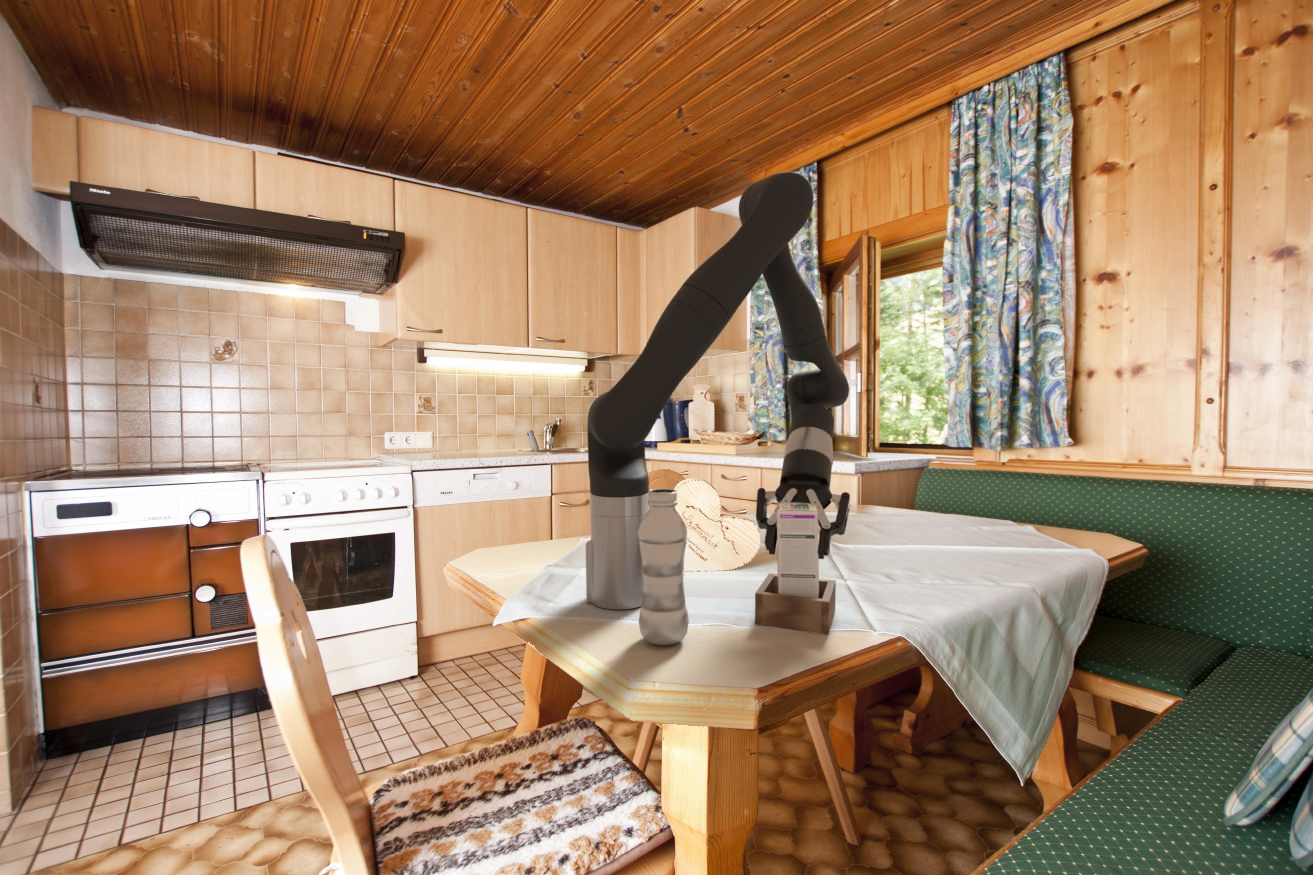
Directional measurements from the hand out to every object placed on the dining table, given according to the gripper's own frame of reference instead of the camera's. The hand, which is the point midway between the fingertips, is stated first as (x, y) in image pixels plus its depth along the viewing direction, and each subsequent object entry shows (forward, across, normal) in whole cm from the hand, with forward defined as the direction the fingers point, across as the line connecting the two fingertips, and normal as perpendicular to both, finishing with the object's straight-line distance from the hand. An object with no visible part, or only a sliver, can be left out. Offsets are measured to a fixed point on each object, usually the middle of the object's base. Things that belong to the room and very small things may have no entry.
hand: (795, 553), depth 83 cm
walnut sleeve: (+6, 0, +8) cm, 10 cm away
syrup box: (+5, 0, +7) cm, 8 cm away
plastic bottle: (+16, -15, -2) cm, 22 cm away
